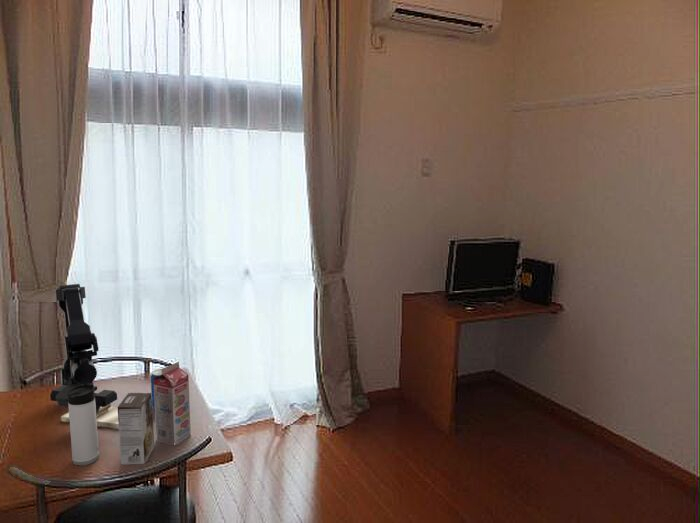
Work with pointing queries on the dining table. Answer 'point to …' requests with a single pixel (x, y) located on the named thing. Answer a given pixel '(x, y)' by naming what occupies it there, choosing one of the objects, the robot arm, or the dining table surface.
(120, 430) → the coffee box
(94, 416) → the travel mug
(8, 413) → the dining table surface
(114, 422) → the board
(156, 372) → the beverage can
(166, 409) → the milk carton
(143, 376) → the dining table surface
